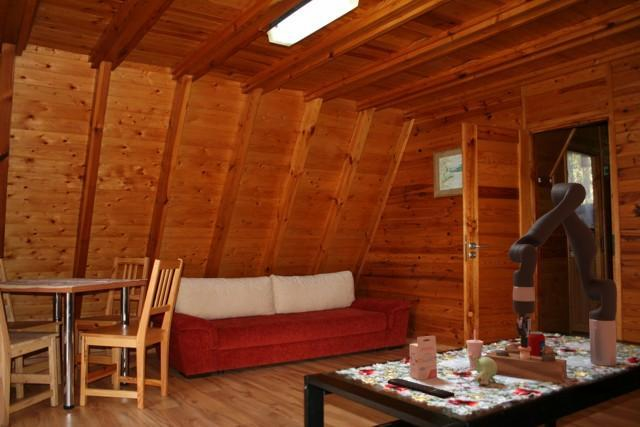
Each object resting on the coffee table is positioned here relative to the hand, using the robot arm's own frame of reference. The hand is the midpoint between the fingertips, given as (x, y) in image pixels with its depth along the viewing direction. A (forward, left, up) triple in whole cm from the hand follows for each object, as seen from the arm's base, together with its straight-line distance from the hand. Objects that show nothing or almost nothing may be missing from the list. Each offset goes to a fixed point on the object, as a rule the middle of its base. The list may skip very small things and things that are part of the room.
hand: (524, 347), depth 193 cm
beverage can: (-22, -1, -10) cm, 24 cm away
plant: (-42, -8, -10) cm, 44 cm away
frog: (+20, -9, -10) cm, 24 cm away
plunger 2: (0, +8, -9) cm, 12 cm away
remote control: (+39, -24, -11) cm, 47 cm away
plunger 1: (0, -8, -9) cm, 12 cm away
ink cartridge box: (+24, -29, -10) cm, 39 cm away
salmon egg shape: (0, 0, -7) cm, 7 cm away
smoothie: (-2, -19, -10) cm, 22 cm away
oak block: (0, 0, -10) cm, 10 cm away
